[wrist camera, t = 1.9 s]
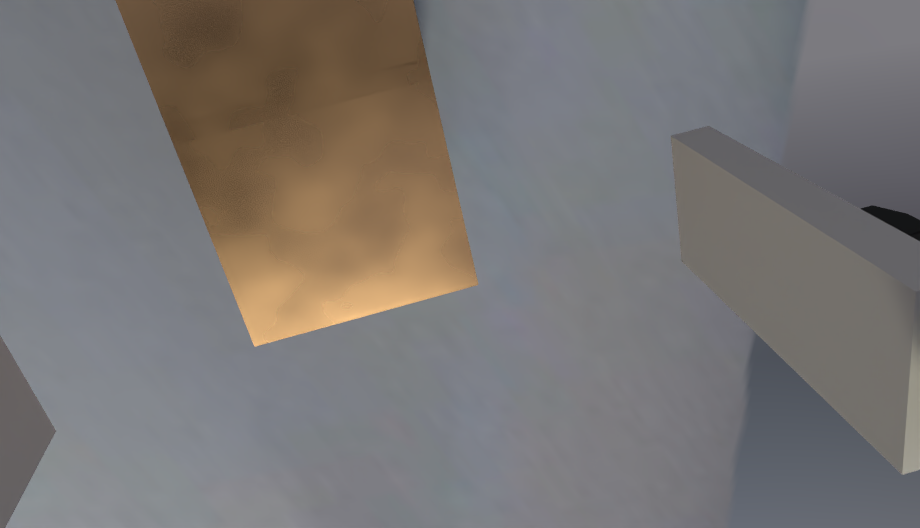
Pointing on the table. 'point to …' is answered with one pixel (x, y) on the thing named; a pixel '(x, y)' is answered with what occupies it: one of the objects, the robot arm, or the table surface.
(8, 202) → the table surface
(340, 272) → the wooden l-shaped block
